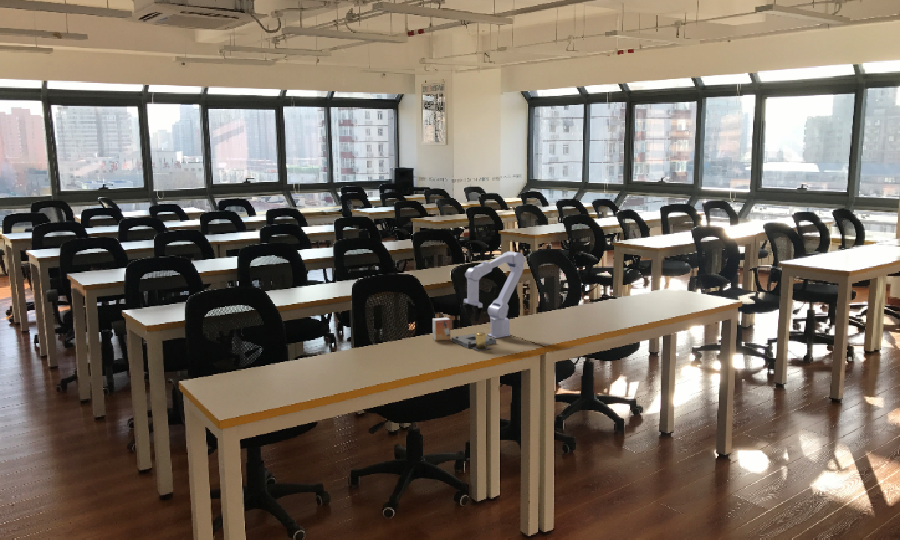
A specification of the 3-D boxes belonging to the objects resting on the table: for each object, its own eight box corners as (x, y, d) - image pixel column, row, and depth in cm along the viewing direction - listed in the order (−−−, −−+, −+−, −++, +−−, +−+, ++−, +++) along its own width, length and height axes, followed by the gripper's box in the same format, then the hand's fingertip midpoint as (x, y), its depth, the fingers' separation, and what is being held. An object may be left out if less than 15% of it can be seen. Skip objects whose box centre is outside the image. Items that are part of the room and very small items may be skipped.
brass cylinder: (481, 346, 342) (481, 331, 340) (487, 348, 338) (487, 333, 337) (473, 347, 339) (473, 333, 338) (479, 349, 335) (479, 335, 334)
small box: (435, 341, 355) (434, 320, 353) (432, 338, 360) (432, 318, 358) (450, 339, 357) (450, 319, 355) (447, 337, 362) (447, 317, 360)
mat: (482, 346, 343) (482, 345, 343) (490, 349, 337) (490, 348, 337) (470, 348, 340) (470, 347, 340) (478, 351, 334) (478, 350, 334)
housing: (479, 336, 361) (478, 332, 361) (496, 343, 348) (496, 338, 347) (451, 341, 354) (451, 336, 353) (468, 348, 340) (468, 343, 339)
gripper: (458, 290, 356) (458, 317, 358) (473, 295, 344) (473, 322, 346) (470, 289, 360) (470, 316, 362) (486, 294, 347) (485, 321, 349)
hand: (472, 319), depth 354 cm, fingers open, 7 cm apart
